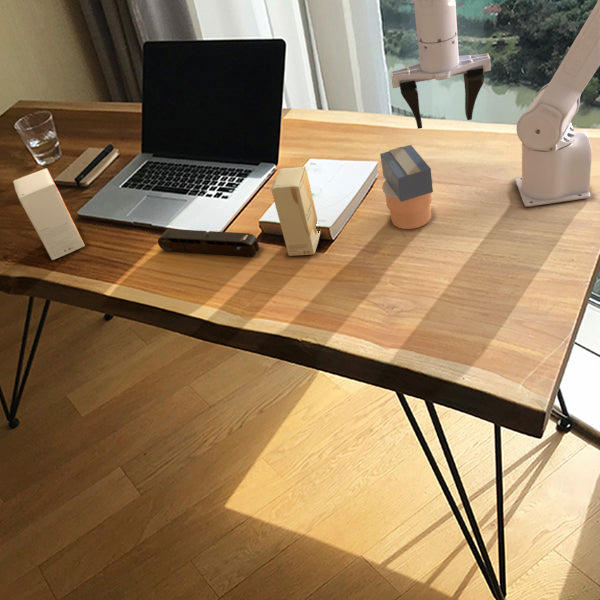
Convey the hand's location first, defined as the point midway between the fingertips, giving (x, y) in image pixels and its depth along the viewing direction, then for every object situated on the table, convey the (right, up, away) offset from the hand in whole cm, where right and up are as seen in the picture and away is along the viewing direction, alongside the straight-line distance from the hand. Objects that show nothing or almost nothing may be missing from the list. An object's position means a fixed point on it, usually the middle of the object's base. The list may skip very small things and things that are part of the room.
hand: (444, 121), depth 107 cm
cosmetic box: (-22, -19, +1) cm, 29 cm away
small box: (-65, -18, +16) cm, 70 cm away
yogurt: (-5, -15, 0) cm, 16 cm away
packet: (-6, -10, -4) cm, 13 cm away
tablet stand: (-38, -20, +5) cm, 43 cm away
